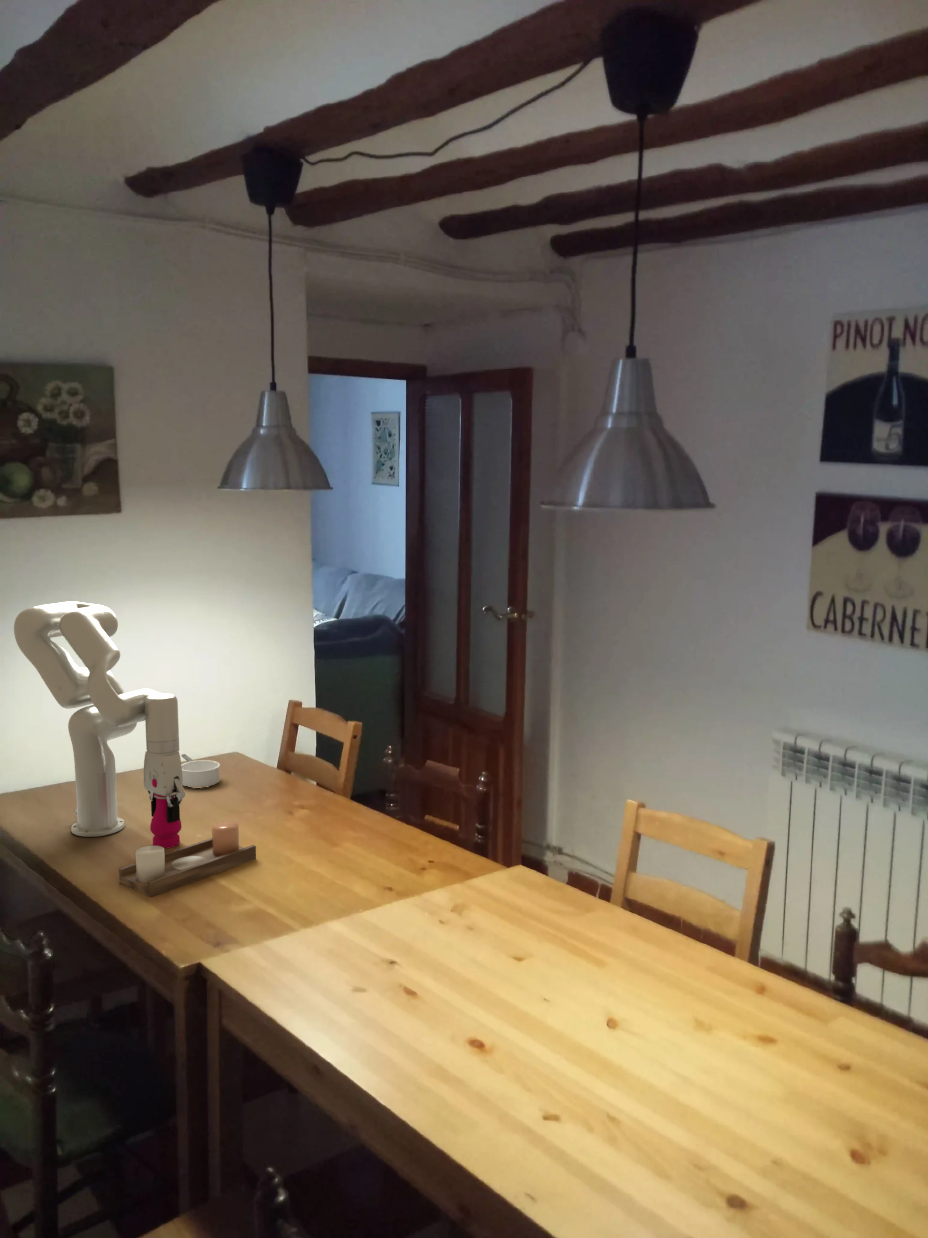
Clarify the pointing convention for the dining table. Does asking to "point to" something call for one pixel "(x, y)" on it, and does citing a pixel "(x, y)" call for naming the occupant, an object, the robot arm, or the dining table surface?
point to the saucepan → (199, 772)
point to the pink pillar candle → (225, 838)
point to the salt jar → (150, 863)
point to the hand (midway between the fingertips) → (165, 817)
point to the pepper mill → (164, 823)
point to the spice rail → (187, 867)
